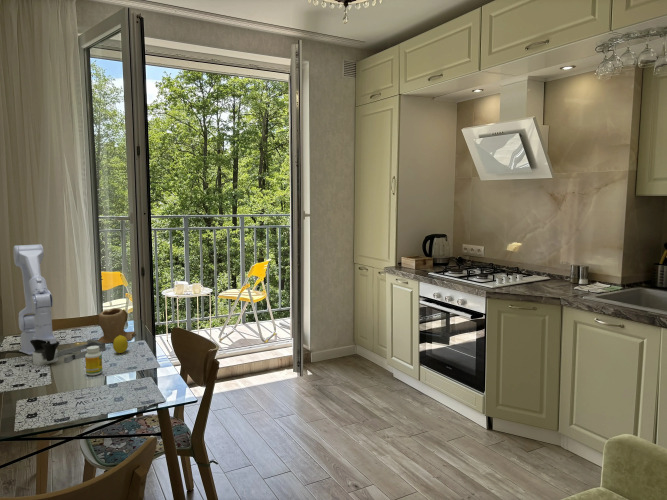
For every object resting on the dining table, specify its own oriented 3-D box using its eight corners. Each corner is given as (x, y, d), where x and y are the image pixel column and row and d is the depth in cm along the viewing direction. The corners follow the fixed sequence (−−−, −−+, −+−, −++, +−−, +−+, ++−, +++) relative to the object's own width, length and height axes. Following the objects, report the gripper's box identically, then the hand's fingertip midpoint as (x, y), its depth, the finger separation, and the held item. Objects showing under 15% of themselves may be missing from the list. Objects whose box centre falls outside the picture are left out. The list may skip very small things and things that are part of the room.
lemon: (122, 356, 192) (121, 337, 191) (110, 355, 193) (109, 336, 192) (131, 352, 197) (130, 333, 196) (119, 351, 198) (118, 332, 198)
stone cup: (97, 348, 204) (95, 313, 202) (98, 340, 214) (97, 307, 213) (136, 343, 210) (134, 310, 208) (135, 336, 220) (134, 304, 219)
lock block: (33, 364, 184) (32, 350, 183) (52, 359, 189) (51, 346, 189) (38, 366, 181) (38, 353, 181) (58, 361, 187) (57, 348, 186)
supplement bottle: (86, 371, 175) (84, 346, 174) (102, 369, 177) (101, 344, 176) (85, 376, 170) (84, 350, 169) (102, 374, 172) (101, 348, 171)
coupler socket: (48, 357, 191) (48, 348, 191) (89, 346, 205) (89, 338, 205) (65, 363, 184) (65, 354, 184) (107, 351, 198) (106, 343, 198)
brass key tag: (73, 346, 205) (73, 343, 205) (77, 345, 208) (77, 341, 207) (84, 347, 204) (84, 344, 204) (89, 346, 206) (89, 342, 206)
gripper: (23, 323, 184) (25, 358, 186) (41, 329, 176) (43, 365, 178) (42, 320, 190) (44, 353, 192) (61, 325, 182) (63, 360, 184)
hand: (45, 358), depth 185 cm, fingers open, 7 cm apart
